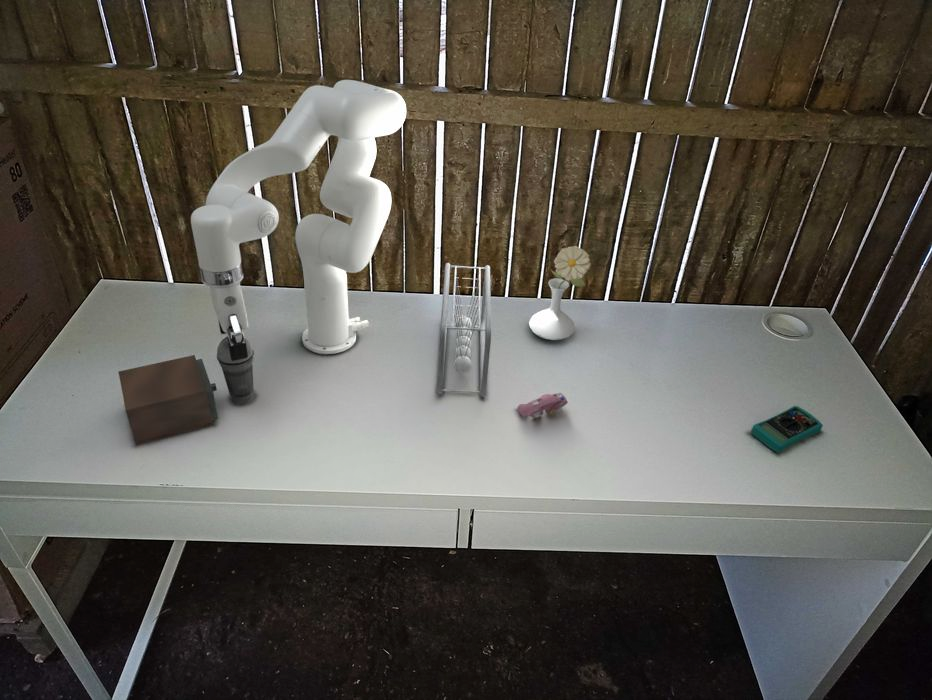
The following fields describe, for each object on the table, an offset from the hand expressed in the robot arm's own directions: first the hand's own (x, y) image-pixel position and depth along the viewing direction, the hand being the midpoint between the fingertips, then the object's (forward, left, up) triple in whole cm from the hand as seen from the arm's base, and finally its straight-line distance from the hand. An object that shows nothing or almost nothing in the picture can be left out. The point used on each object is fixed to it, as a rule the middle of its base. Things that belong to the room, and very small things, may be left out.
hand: (234, 345), depth 144 cm
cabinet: (+15, 0, -14) cm, 20 cm away
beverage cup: (0, 0, -14) cm, 14 cm away
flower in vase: (-75, +5, -14) cm, 77 cm away
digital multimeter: (-101, +56, -14) cm, 116 cm away
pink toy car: (-56, +30, -14) cm, 65 cm away
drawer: (+12, 0, -13) cm, 18 cm away
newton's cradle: (-49, +6, -14) cm, 52 cm away
